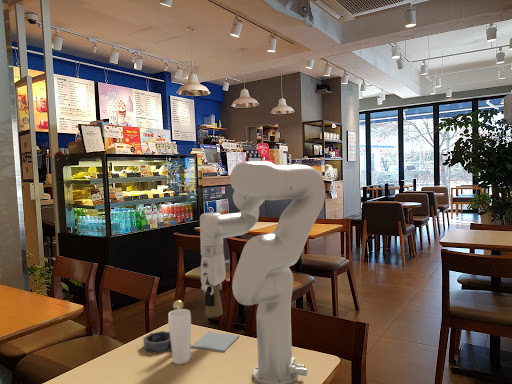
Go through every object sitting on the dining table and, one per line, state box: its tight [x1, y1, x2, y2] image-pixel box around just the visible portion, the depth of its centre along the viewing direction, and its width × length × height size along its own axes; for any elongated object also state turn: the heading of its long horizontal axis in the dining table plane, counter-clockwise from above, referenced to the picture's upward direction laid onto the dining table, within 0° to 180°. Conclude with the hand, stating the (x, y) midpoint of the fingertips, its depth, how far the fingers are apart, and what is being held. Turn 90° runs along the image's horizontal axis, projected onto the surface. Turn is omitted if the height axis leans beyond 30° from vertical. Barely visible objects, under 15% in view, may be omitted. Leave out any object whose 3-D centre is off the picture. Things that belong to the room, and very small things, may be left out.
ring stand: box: [143, 299, 192, 354], centre depth 130 cm, size 15×10×16 cm, turn 69°
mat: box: [190, 331, 240, 353], centre depth 133 cm, size 12×12×1 cm
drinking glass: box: [167, 308, 192, 365], centre depth 120 cm, size 7×7×15 cm
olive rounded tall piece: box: [204, 283, 224, 318], centre depth 132 cm, size 6×6×11 cm
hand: (213, 302), depth 133 cm, fingers closed on olive rounded tall piece, 4 cm apart
